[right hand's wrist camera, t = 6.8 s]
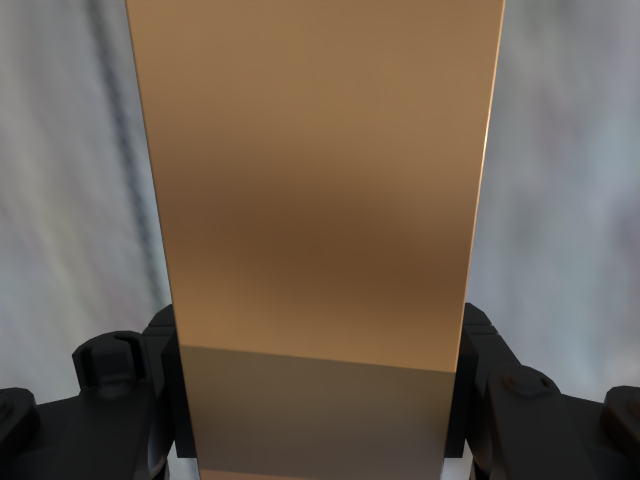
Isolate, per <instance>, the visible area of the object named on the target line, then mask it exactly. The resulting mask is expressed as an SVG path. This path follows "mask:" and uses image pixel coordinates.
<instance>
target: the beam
mask: <svg viewBox="0 0 640 480" xmlns="http://www.w3.org/2000/svg"><path fill="white" fill-rule="evenodd" d="M125 6H126V12H127V19H128V25H129V31H130V38H131V44H132V50H133V57H134V63H135V70H136V76H137V82H138V89H139V95H140V101H141V108H142V114H143V120H144V127H145V133H146V139H147V146H148V152H149V159H150V165H151V171H152V178H153V184H154V190H155V197H156V203H157V209H158V216H159V222H160V229H161V235H162V241H163V248H164V254H165V260H166V267H167V273H168V279H169V286H170V292H171V298H172V305H173V311H174V318H175V324H176V330H177V337H178V343H179V349H180V356H181V362H182V368H183V375H184V381H185V387H186V394H187V400H188V407H189V413H190V419H191V426H192V432H193V438H194V445H195V451H196V457H197V464H198V470H199V477H200V480H441V479H442V471H443V464H444V456H445V449H446V442H447V434H448V427H449V419H450V412H451V404H452V397H453V389H454V382H455V374H456V367H457V359H458V352H459V344H460V337H461V329H462V322H463V314H464V307H465V299H466V292H467V285H468V277H469V270H470V262H471V255H472V247H473V240H474V232H475V225H476V217H477V210H478V202H479V195H480V187H481V180H482V172H483V165H484V157H485V150H486V142H487V135H488V128H489V120H490V113H491V105H492V98H493V90H494V83H495V75H496V68H497V60H498V53H499V45H500V38H501V30H502V23H503V15H504V8H505V0H125Z"/></svg>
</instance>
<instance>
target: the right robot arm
mask: <svg viewBox="0 0 640 480" xmlns="http://www.w3.org/2000/svg"><path fill="white" fill-rule="evenodd" d="M72 358H73V362H74V366H75V370H76V374H77V378H78V381H79V385H80V389H81V391H80V393H79V395H78V396H75V397H71V398H68V399H63V400H58V401H54V402H49V403H44V404H40V405H37V404H36V401H35V398H34V395H33V394H32V393H31V392H30V391H29V390H28V389H23V388H17V387H15V388H7V389H0V480H169V477H170V473H169V466H168V460H167V456H168V454H169V451H170V449H171V446H172V444H173V442H174V440H175V446H176V452H177V458H197V457H196V451H195V445H194V438H193V432H192V426H191V419H190V413H189V407H188V400H187V394H186V387H185V381H184V375H183V368H182V362H181V356H180V349H179V343H178V337H177V330H176V324H175V318H174V311H173V305H172V304H170V305H168V306H167V307H165V308H164V309H162V310H161V311H159V312H158V313H156V315H155V316H154V317H153V319H152V320H151V322H150V323H149V324H148V327H146V329H145V330H144V331H143V333H142V334H140V333H138V332H133V331H114V332H110V333H105V334H102V335H99V336H97V337H94V338H92V339H90V340H88V341H86V342H85V343H83V344H82V345H80V346H79V347H78V348H77V349H76V350H75V352H74V353H73V354H72ZM465 438H466V440H467V443H468V445H469V447H470V450H471V452H472V455H473V460H472V466H471V471H470V477H469V480H640V387H632V386H618V387H613V388H612V389H610V390H609V391H608V392H607V394H606V397H605V400H604V403H599V402H595V401H590V400H585V399H581V398H576V397H571V396H568V395H564V394H561V392H560V390H559V389H558V387H557V386H556V384H555V383H554V382H553V381H552V380H551V379H550V378H549V377H547V376H546V375H545V374H543V373H542V372H539V371H537V370H535V369H533V368H531V367H528V366H524V365H521V363H520V362H519V361H518V359H517V358H516V357H515V355H514V354H513V352H512V351H511V350H510V348H509V347H508V345H507V344H506V343H505V341H504V340H503V338H502V337H501V336H500V335H499V333H498V331H497V330H496V329H495V327H494V326H492V323H491V322H490V320H489V319H488V317H487V316H486V315H485V313H484V312H483V311H481V310H480V309H478V308H477V307H475V306H474V305H472V304H471V303H465V307H464V314H463V322H462V329H461V337H460V344H459V352H458V359H457V367H456V374H455V382H454V389H453V397H452V404H451V412H450V419H449V427H448V434H447V442H446V449H445V456H444V458H462V456H463V450H464V444H465Z"/></svg>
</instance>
